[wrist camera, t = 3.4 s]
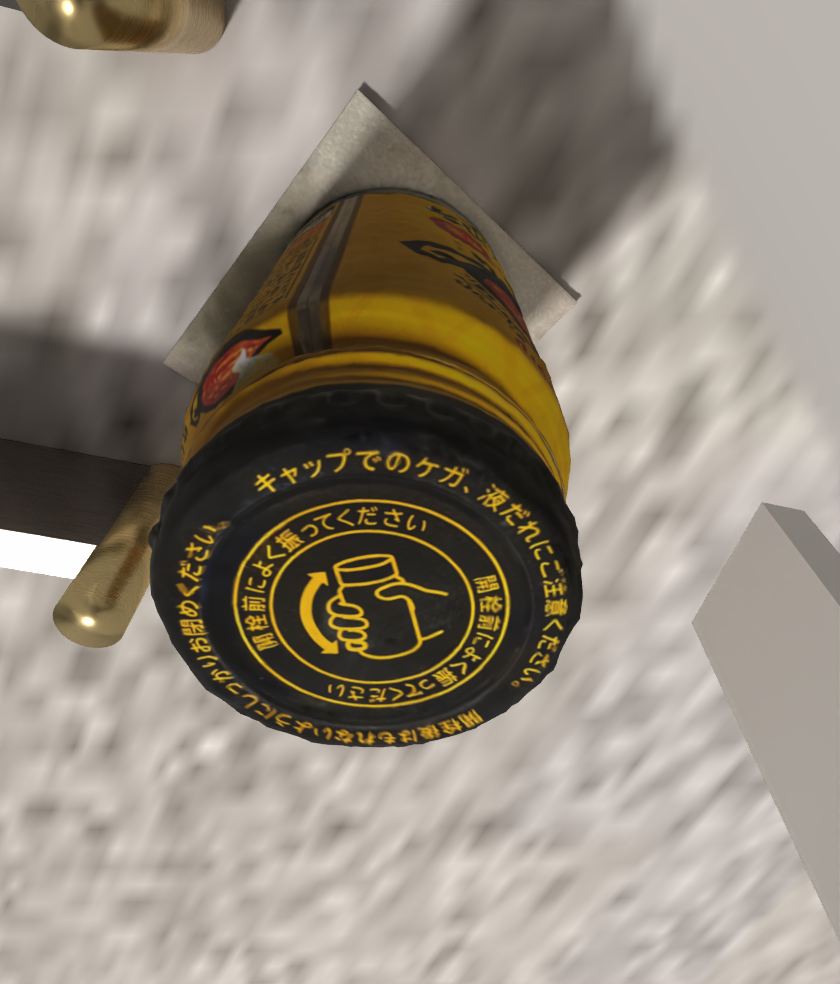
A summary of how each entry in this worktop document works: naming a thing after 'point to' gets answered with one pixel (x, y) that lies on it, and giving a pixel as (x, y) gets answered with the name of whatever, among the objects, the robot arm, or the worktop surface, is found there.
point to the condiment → (371, 461)
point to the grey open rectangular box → (74, 476)
